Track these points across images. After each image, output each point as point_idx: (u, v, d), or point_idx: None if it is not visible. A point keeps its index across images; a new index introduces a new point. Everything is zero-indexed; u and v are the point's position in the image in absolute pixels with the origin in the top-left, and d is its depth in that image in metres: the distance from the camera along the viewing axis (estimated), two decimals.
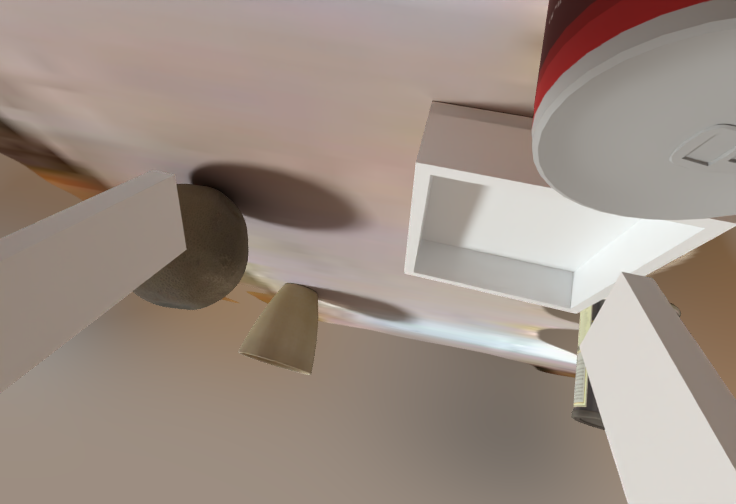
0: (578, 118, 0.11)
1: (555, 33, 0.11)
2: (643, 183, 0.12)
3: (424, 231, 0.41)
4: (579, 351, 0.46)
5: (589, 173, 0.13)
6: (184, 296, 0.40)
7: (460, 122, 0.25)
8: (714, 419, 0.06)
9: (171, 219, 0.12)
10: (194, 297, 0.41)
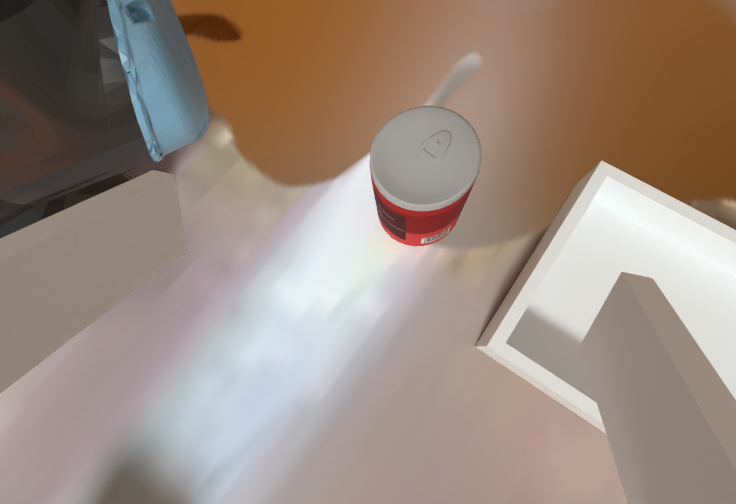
0: (399, 188, 0.27)
1: (386, 208, 0.29)
2: (451, 171, 0.27)
3: None
4: None
5: (437, 189, 0.26)
6: None
7: (490, 325, 0.33)
8: (714, 419, 0.06)
9: (171, 219, 0.12)
10: None
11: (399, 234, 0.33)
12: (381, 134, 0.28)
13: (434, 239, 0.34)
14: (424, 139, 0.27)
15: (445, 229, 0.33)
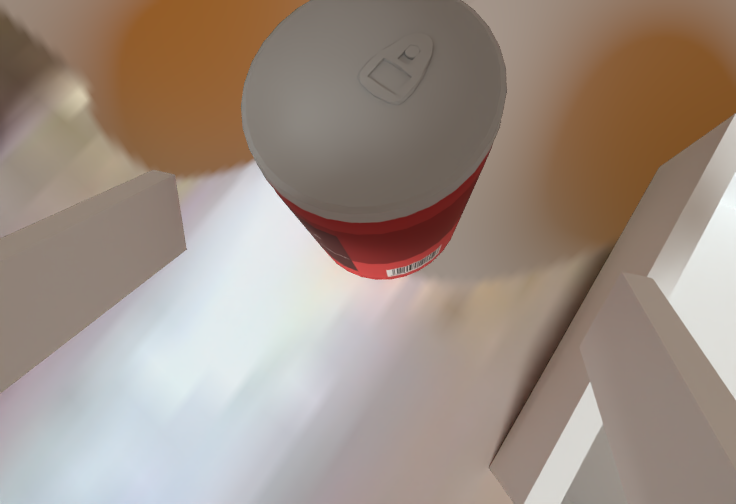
0: (308, 167, 0.11)
1: (297, 216, 0.13)
2: (434, 125, 0.11)
3: None
4: None
5: (400, 169, 0.11)
6: None
7: (519, 434, 0.17)
8: (714, 419, 0.06)
9: (171, 219, 0.12)
10: None
11: (344, 262, 0.18)
12: (271, 44, 0.12)
13: (411, 269, 0.19)
14: (372, 54, 0.12)
15: (430, 252, 0.17)
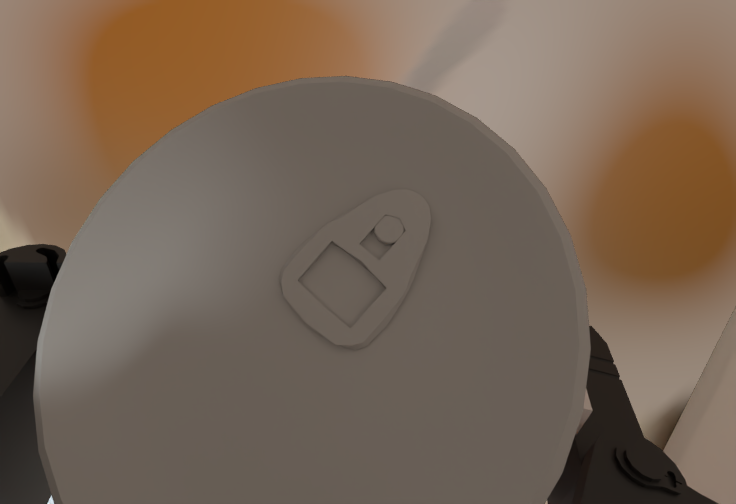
0: (161, 494, 0.05)
1: None
2: (433, 404, 0.05)
3: None
4: None
5: None
6: None
7: None
8: None
9: None
10: None
11: None
12: (113, 206, 0.06)
13: None
14: (311, 228, 0.06)
15: None
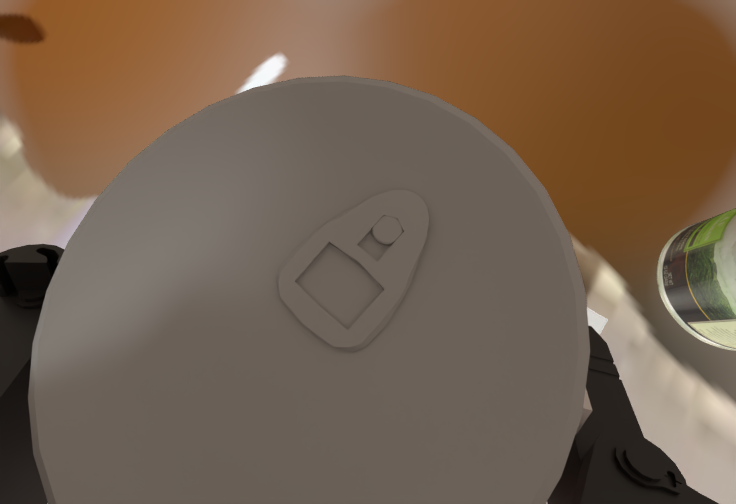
0: (157, 498, 0.05)
1: None
2: (431, 407, 0.05)
3: None
4: None
5: None
6: None
7: None
8: None
9: None
10: None
11: None
12: (109, 206, 0.06)
13: None
14: (308, 229, 0.06)
15: None
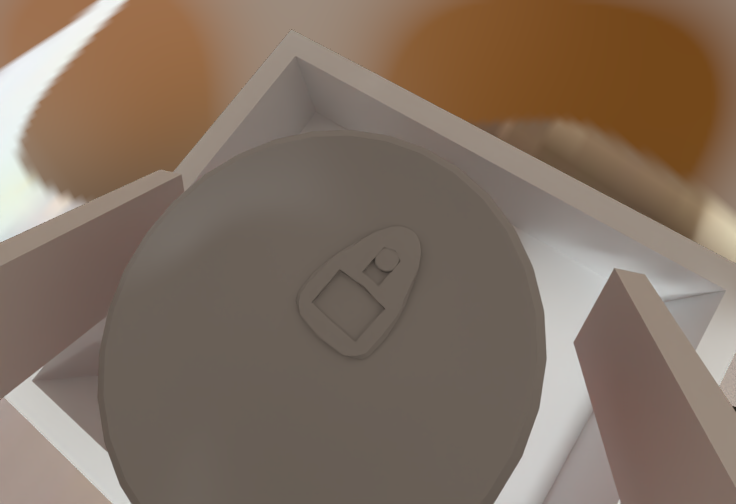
0: (204, 476, 0.06)
1: None
2: (423, 403, 0.06)
3: None
4: None
5: (361, 493, 0.06)
6: None
7: None
8: (701, 410, 0.06)
9: None
10: None
11: None
12: (158, 239, 0.07)
13: None
14: (322, 258, 0.07)
15: None
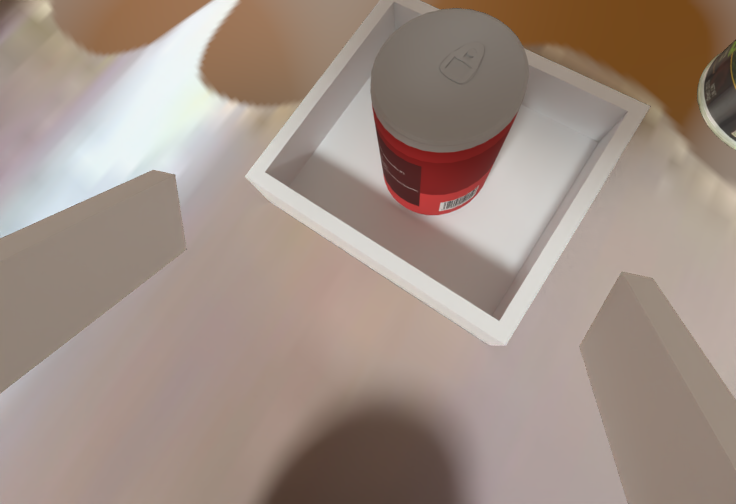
0: (412, 120, 0.19)
1: (394, 156, 0.21)
2: (486, 96, 0.19)
3: None
4: None
5: (466, 121, 0.19)
6: None
7: None
8: (714, 419, 0.06)
9: (171, 219, 0.12)
10: None
11: (411, 197, 0.26)
12: (386, 48, 0.20)
13: (456, 205, 0.27)
14: (447, 54, 0.20)
15: (471, 189, 0.25)
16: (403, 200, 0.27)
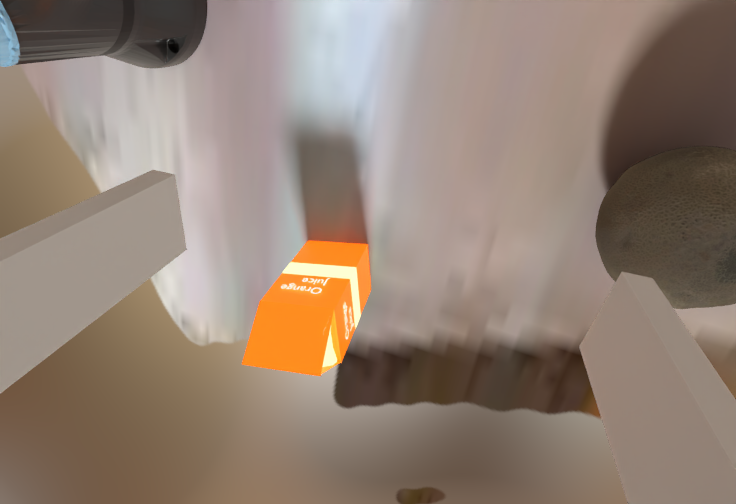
0: None
1: None
2: None
3: None
4: None
5: None
6: (714, 211, 0.28)
7: None
8: (714, 419, 0.06)
9: (171, 219, 0.12)
10: (728, 204, 0.28)
11: None
12: None
13: None
14: None
15: None
16: None
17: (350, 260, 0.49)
